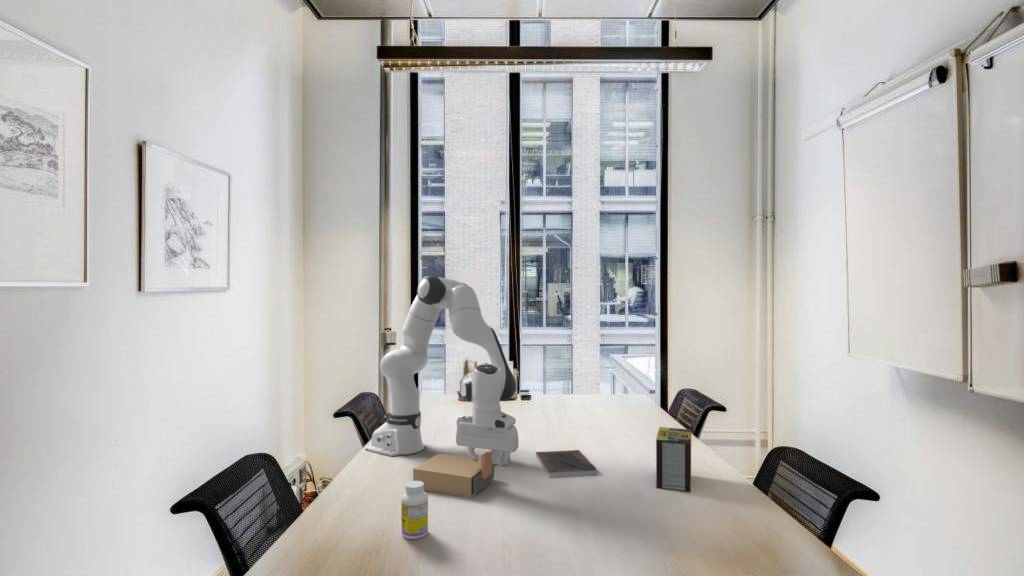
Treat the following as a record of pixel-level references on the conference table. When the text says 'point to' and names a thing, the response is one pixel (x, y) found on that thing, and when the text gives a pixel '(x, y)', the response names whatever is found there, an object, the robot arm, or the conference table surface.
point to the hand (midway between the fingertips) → (486, 462)
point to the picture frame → (565, 463)
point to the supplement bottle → (414, 511)
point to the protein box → (673, 459)
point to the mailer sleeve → (448, 474)
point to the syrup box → (504, 459)
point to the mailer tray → (483, 472)
